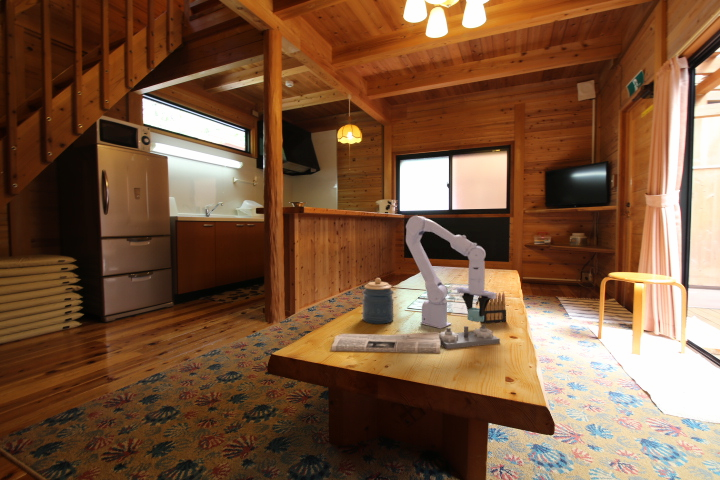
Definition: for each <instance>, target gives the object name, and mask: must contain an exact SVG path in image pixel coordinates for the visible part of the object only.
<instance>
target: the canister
mask: <svg viewBox="0 0 720 480" xmlns="http://www.w3.org/2000/svg"><path fill="white" fill-rule="evenodd" d="M361 293H362V294H363V298H362V314H361V315H362V320H363V321H364V322H366V323H367V324H368V323H369V324H374V325H383V324H389V323H392V322H393V320H394V315H395V314H394V298H393V294H394V290H392V285H391V284H389V282H386V281H382V279H381V278H380V277H376V278H375V279H374V281H369V282H368V283H367V284H365V285H364V289H363V290H362V292H361Z"/></svg>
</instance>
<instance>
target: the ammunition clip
mask: <svg viewBox="0 0 720 480" xmlns="http://www.w3.org/2000/svg"><path fill="white" fill-rule="evenodd" d="M480 323H481V324H482V325H486V324H496V323H507V309H506V295H505V291H504V292H502V294H501V292H499V293H498V294H496V299H490V301H489V302H488V304H487V306H486V309H485V312H484V321H481V322H480Z"/></svg>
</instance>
